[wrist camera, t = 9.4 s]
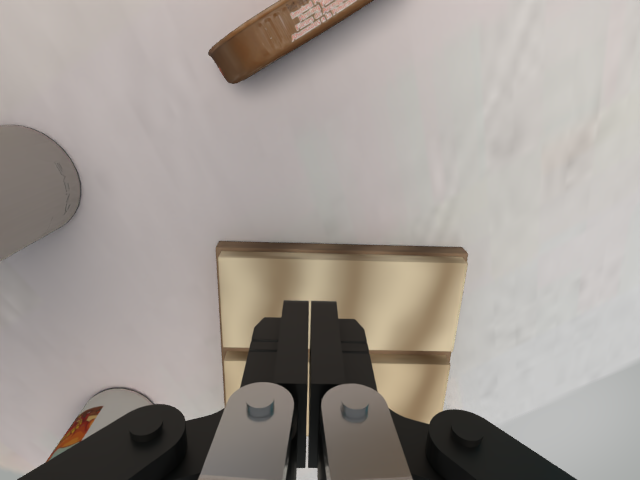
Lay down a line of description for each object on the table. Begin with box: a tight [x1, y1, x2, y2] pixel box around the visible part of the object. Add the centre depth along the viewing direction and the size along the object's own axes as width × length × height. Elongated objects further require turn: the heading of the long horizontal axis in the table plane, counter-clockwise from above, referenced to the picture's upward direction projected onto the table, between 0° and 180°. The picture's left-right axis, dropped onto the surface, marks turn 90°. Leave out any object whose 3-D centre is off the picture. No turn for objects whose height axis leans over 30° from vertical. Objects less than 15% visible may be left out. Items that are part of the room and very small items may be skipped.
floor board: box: [216, 241, 468, 436], centre depth 40 cm, size 22×20×3 cm
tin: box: [208, 0, 374, 84], centre depth 28 cm, size 15×3×8 cm, turn 119°
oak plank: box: [218, 251, 468, 351], centre depth 37 cm, size 21×9×2 cm, turn 88°
